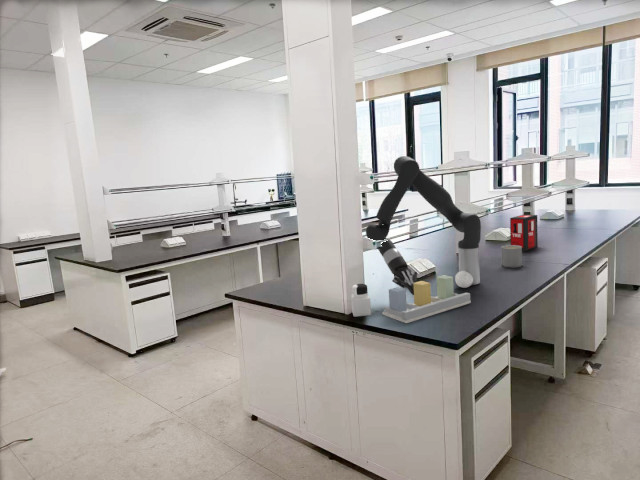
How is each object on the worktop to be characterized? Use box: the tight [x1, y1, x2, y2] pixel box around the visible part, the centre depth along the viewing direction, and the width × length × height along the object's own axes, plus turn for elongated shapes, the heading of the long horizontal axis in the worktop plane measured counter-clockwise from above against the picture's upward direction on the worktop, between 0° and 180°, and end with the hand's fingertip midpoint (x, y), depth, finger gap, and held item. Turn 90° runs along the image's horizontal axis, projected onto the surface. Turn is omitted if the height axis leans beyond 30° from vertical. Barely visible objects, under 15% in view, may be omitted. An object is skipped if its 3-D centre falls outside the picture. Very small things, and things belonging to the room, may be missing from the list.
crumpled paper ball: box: [454, 271, 473, 289], centre depth 209 cm, size 8×8×8 cm
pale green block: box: [436, 274, 455, 299], centre depth 191 cm, size 5×4×9 cm
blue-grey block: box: [388, 286, 408, 312], centre depth 179 cm, size 5×4×9 cm
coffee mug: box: [501, 244, 523, 268], centre depth 243 cm, size 13×10×10 cm
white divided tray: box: [381, 292, 472, 324], centre depth 184 cm, size 14×35×4 cm, turn 121°
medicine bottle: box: [350, 283, 372, 318], centre depth 184 cm, size 7×7×12 cm
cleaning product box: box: [509, 214, 538, 252], centre depth 281 cm, size 16×9×20 cm, turn 130°
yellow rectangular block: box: [413, 280, 432, 306], centre depth 185 cm, size 5×4×9 cm
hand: (415, 293), depth 189 cm, fingers closed
